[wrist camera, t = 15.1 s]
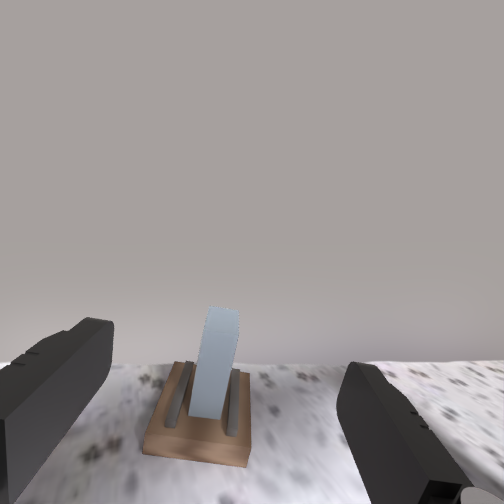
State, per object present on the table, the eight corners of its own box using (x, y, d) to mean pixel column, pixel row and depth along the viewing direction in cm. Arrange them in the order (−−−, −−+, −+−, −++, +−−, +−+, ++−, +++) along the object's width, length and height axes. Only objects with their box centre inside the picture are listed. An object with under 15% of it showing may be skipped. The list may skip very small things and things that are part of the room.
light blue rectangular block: (223, 383, 37) (238, 310, 34) (220, 419, 31) (238, 335, 28) (195, 379, 36) (209, 305, 34) (187, 415, 31) (202, 329, 28)
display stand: (245, 388, 41) (251, 367, 40) (246, 467, 29) (253, 439, 28) (172, 377, 40) (175, 354, 39) (142, 453, 28) (146, 424, 27)
